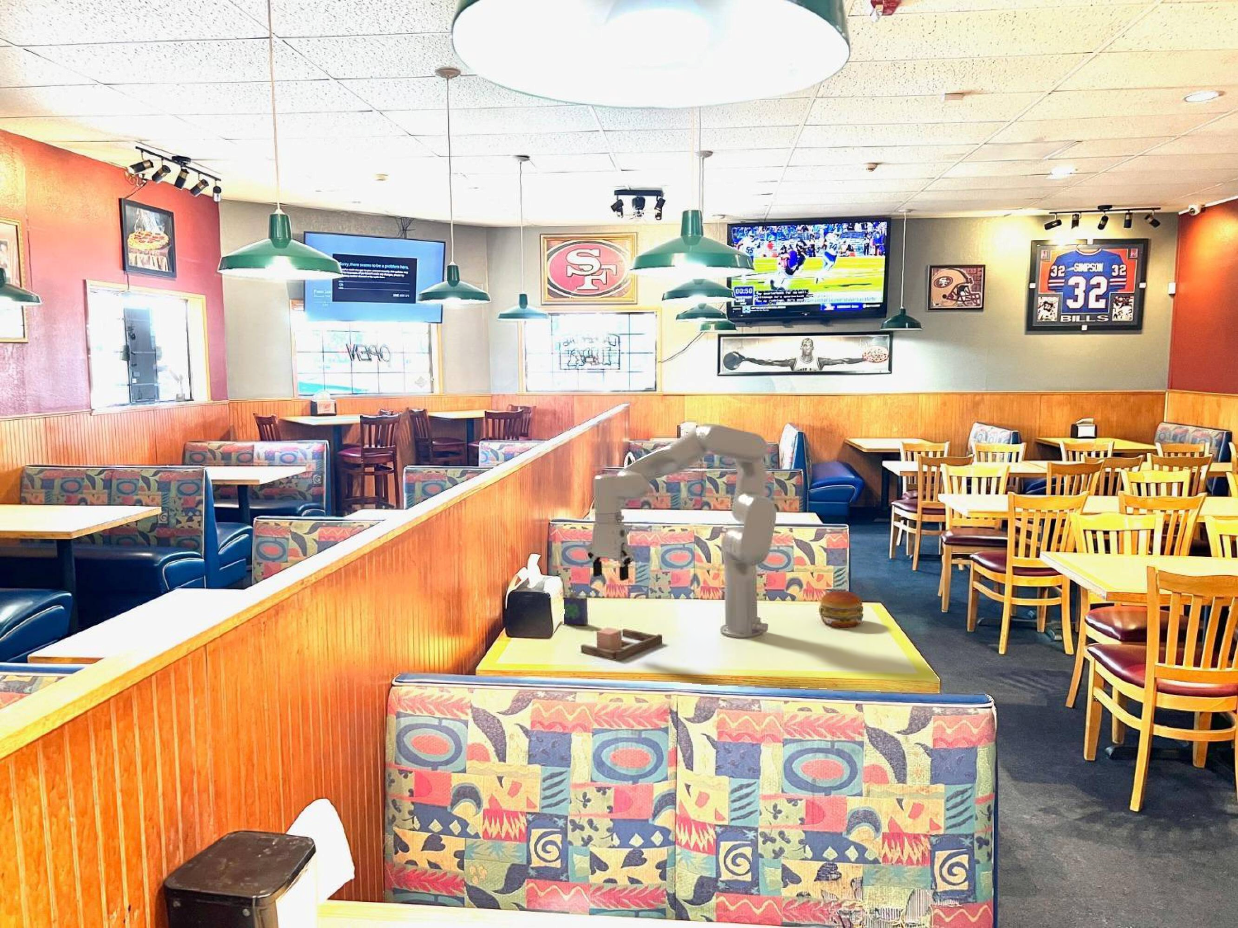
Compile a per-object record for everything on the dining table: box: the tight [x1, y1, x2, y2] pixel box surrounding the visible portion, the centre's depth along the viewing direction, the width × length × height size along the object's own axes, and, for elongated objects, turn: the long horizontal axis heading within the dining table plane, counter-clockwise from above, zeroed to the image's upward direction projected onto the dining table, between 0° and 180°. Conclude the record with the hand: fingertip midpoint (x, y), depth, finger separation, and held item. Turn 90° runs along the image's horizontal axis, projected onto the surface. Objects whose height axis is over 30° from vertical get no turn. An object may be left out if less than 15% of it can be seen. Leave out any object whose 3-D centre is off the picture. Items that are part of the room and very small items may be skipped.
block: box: [596, 627, 623, 652], centre depth 251 cm, size 5×5×6 cm
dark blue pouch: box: [563, 590, 589, 627], centre depth 279 cm, size 9×3×11 cm, turn 68°
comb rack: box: [580, 628, 663, 662], centre depth 254 cm, size 14×20×3 cm
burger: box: [818, 590, 864, 628], centre depth 271 cm, size 14×14×10 cm
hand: (610, 577), depth 251 cm, fingers open, 9 cm apart
